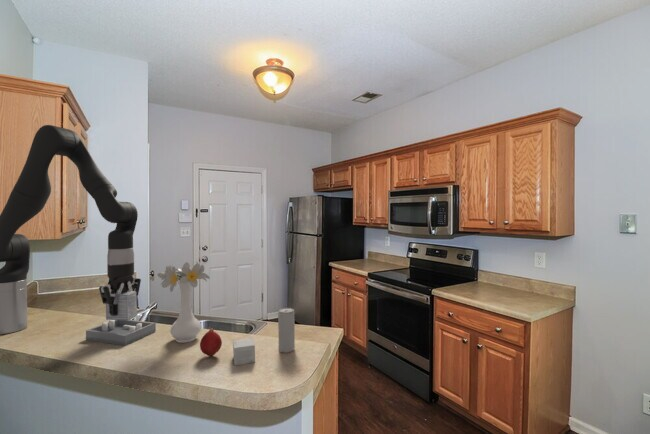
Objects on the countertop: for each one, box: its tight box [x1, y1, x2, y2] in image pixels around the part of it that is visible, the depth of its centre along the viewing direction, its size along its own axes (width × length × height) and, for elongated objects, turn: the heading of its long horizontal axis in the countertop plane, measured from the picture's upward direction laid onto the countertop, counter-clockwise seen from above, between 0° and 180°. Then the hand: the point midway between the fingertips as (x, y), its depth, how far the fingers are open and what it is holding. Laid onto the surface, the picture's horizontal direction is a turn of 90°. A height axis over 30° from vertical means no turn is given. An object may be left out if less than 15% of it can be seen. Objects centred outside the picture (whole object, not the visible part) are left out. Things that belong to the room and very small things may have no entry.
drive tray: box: [85, 319, 157, 346], centre depth 107 cm, size 16×12×4 cm
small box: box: [232, 337, 256, 366], centre depth 90 cm, size 6×6×5 cm
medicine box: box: [105, 290, 138, 321], centre depth 107 cm, size 8×4×9 cm, turn 84°
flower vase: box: [157, 261, 211, 344], centre depth 104 cm, size 13×18×25 cm
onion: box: [199, 328, 223, 358], centre depth 92 cm, size 6×6×8 cm
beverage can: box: [277, 307, 296, 354], centre depth 96 cm, size 5×5×12 cm
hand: (121, 312), depth 107 cm, fingers closed on medicine box, 5 cm apart
